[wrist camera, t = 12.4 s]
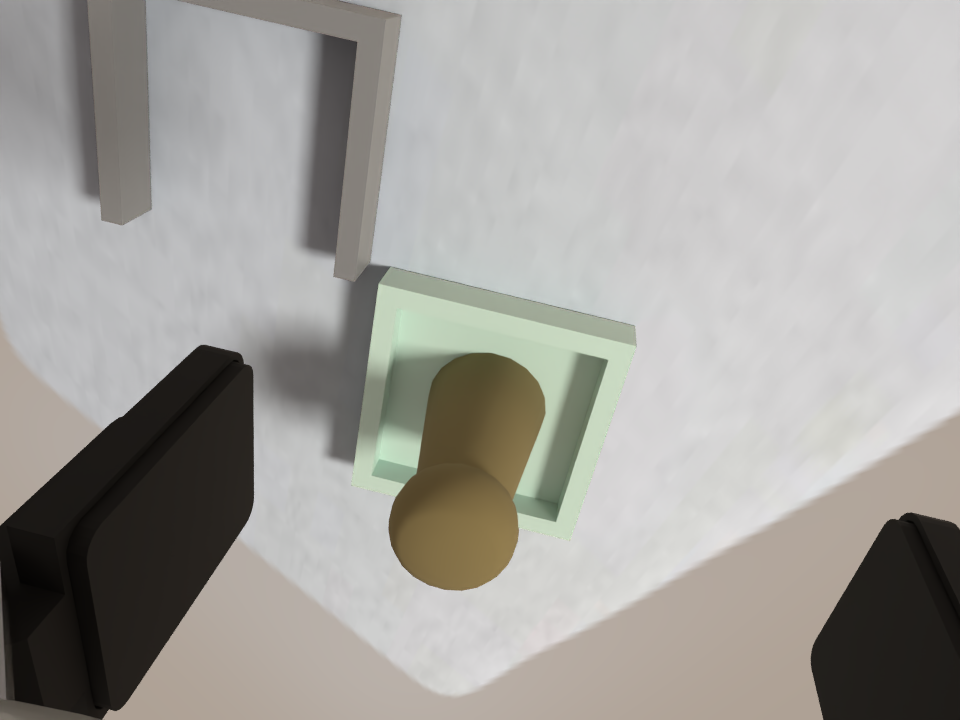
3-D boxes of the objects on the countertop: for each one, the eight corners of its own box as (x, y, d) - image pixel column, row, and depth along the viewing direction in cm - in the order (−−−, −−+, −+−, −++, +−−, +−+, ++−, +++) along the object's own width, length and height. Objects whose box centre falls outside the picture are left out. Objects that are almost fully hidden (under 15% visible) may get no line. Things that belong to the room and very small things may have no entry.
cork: (480, 329, 36) (433, 466, 26) (571, 406, 37) (558, 562, 28) (405, 403, 39) (338, 552, 29) (492, 472, 40) (455, 636, 30)
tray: (634, 326, 35) (636, 346, 33) (571, 515, 41) (569, 540, 39) (390, 267, 36) (378, 283, 34) (362, 462, 42) (351, 485, 40)
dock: (401, 15, 30) (385, 19, 28) (370, 262, 36) (354, 281, 34) (120, -50, 31) (83, -50, 29) (131, 204, 36) (101, 220, 34)
